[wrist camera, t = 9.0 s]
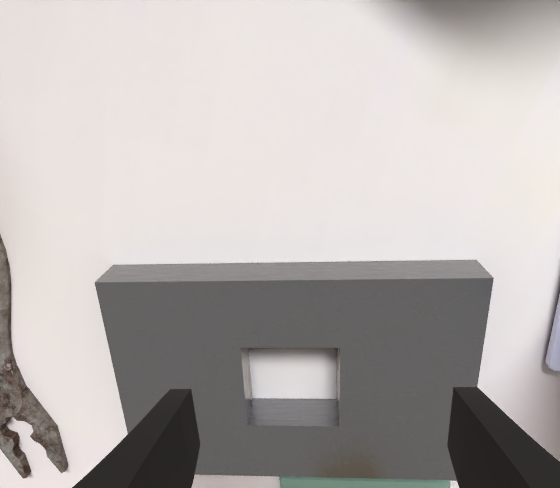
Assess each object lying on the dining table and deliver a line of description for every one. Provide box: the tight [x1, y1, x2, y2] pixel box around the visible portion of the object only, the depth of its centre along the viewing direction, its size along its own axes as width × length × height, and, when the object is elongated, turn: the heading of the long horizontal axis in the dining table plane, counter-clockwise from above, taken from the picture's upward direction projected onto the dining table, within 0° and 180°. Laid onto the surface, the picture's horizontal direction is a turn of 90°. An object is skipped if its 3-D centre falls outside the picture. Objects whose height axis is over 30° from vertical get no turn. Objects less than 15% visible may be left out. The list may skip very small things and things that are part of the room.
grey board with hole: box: [95, 260, 493, 481], centre depth 22 cm, size 18×12×2 cm, turn 92°
